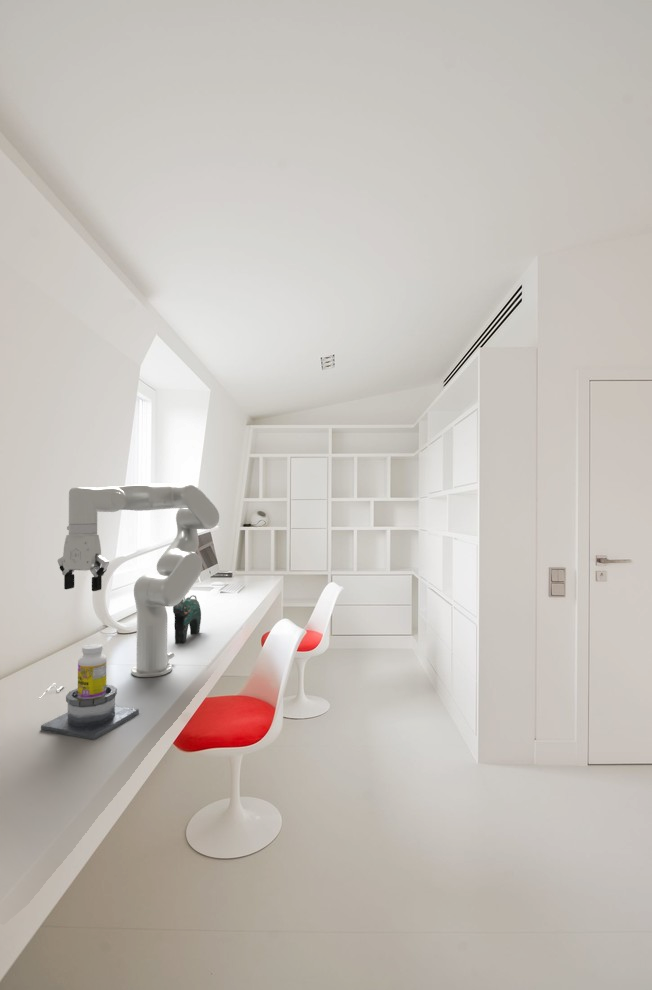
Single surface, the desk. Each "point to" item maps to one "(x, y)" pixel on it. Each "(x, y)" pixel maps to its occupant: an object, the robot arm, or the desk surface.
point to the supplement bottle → (92, 672)
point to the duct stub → (90, 715)
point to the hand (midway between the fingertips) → (82, 589)
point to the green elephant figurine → (186, 618)
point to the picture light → (51, 687)
